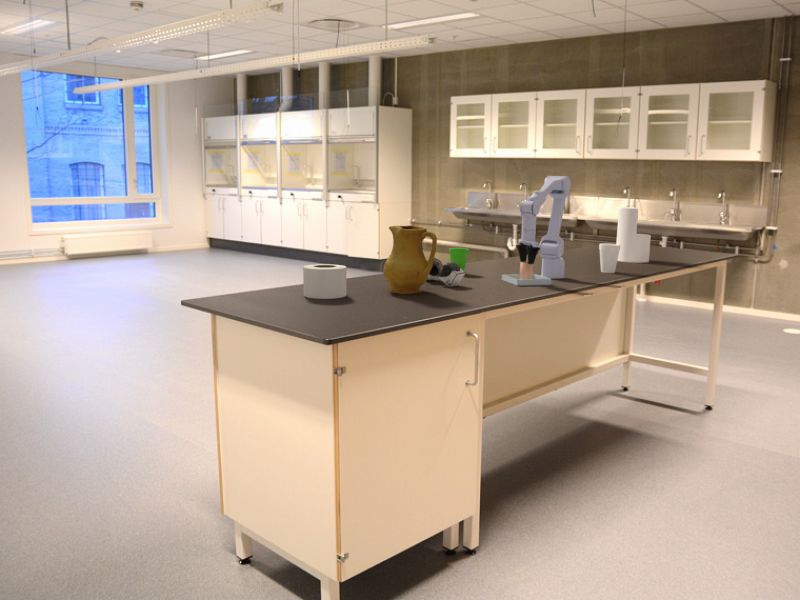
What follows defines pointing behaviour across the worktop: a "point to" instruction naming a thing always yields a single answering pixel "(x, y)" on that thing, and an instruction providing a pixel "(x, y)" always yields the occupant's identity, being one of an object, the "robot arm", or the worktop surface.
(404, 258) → the pitcher
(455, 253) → the cup
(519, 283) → the tray
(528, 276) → the tumbler
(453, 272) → the black white sneaker
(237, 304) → the worktop surface
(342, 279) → the white toilet paper roll
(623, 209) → the white l-shaped piece
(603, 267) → the foam cup
